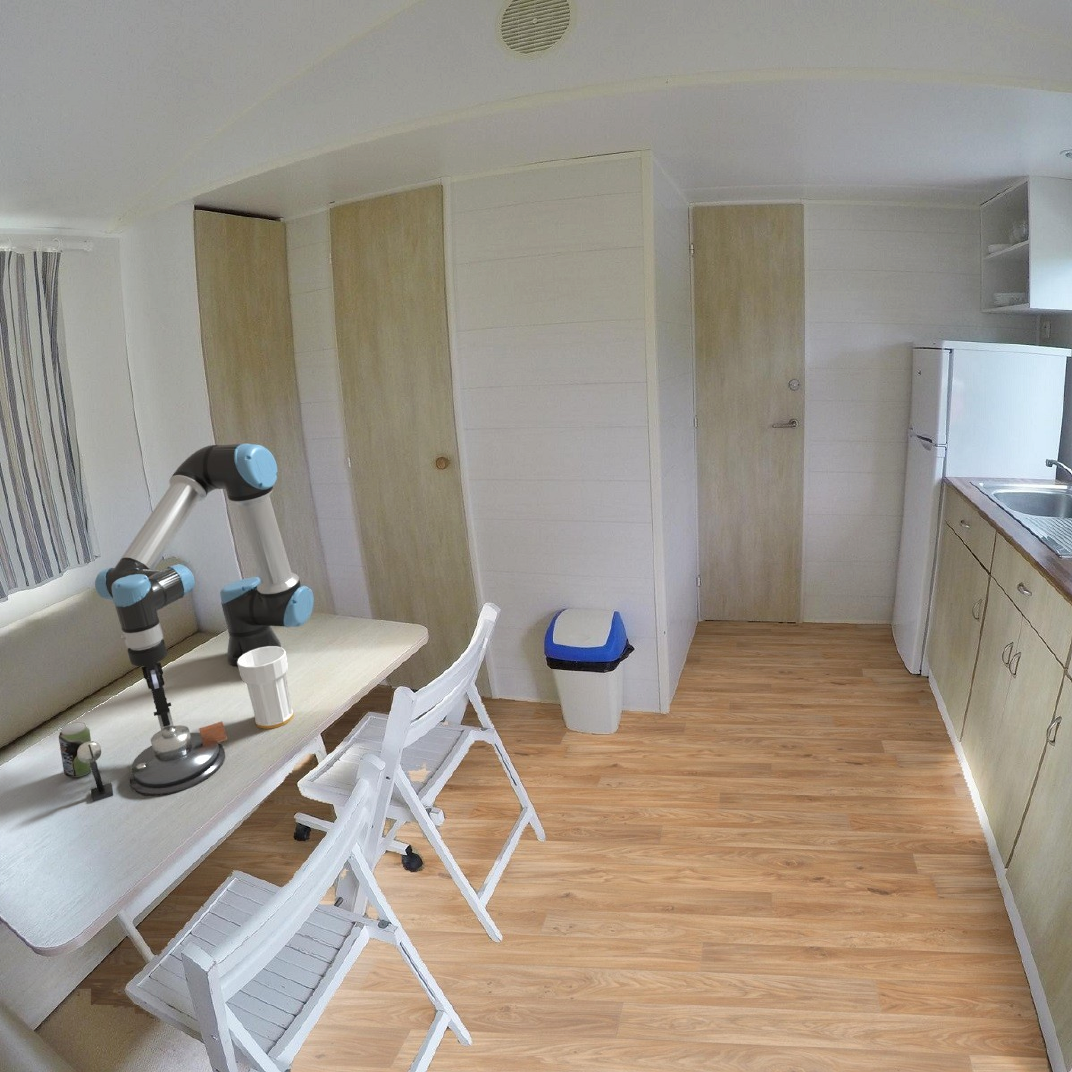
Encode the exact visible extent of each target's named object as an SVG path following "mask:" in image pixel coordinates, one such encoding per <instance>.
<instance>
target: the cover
mask: <svg viewBox="0 0 1072 1072" xmlns="http://www.w3.org/2000/svg"><path fill="white" fill-rule="evenodd" d="M190 733H191V732H190V728H189V727H188V726H186V725H181V724H179V725H174V726H167V727H165V728H163V729H162V730H161V729H160V730H158V731H157V732H155V734H153V735H152V736H151V738H150V744H151V746H152V748H153V751H154V755H155V758H156V759H158V760H161V761H166V760H172V759H176V758H179V757H181V756H183V755H185V754H186V753H188V752H189V751H190V750H191V749H192V747H193V743H192V740H191V736H190Z"/></svg>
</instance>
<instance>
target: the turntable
mask: <svg viewBox="0 0 1072 1072" xmlns="http://www.w3.org/2000/svg"><path fill="white" fill-rule="evenodd" d="M198 729H199V732H190V736H191V740H192V743H193V747H192V749H191V750H190V751H189V752H188V753H186V754H185V755H183V756H181V757H179V758H176V759H172V760H166V761H161V760H158V759H156V758H155V755H154V751H153V748H152V745H150V746H149V747H147V748H146V749H144V750H143V751H142V752H140V753H139V754H138V755H137V756H136V757H135V759H134V760H133V761H132V764H131V772H132V773H133V777H134V780H135V782H136V783H137V784H139V785H141V786H144V787H149V788H161V787H168V786H172V785H176V784H180V783H183V782H185V781H188V780H190V779H192V778H195V777H196V776H198V775H200V774H202V773H203V772H205V771H206V770H208V769H209V768H210V767H211V766H212V765H213V764H214V763H215V762H216V761H217V759H218V757H219V754H220V750H219V746H218V743H220V742H223V741H226V740H227V739H228V738H227V733H226V730H225V726H224V722H223V721H222V720H221V721H218V722H216V723H211V724H210V725H206V726H204V727H200V728H198Z"/></svg>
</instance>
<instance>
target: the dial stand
mask: <svg viewBox="0 0 1072 1072" xmlns="http://www.w3.org/2000/svg"><path fill="white" fill-rule="evenodd" d="M101 755H102V747H101V745H100V744H99V743H98V742H96V741H92V740H91V741H89V742H85V743H83V744H82V745H81V746H80V747H79V748H78V751H77V756H78V759H79V760H80V761H81V762H83V763H90V766H91V769H92V770H91V772H92V776H93V779H94V782H95V785H96V787H93V788H91V789H90V799H91V802H92V803H95V802H97V801H100V800H104V799H106V798H109V797H112V796H114V789H113V784H112V782H111V781H110V782H108V783H103V780H102V777H101V774H100V770H99V766H98V763H97V760H99V759H100V757H101Z"/></svg>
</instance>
